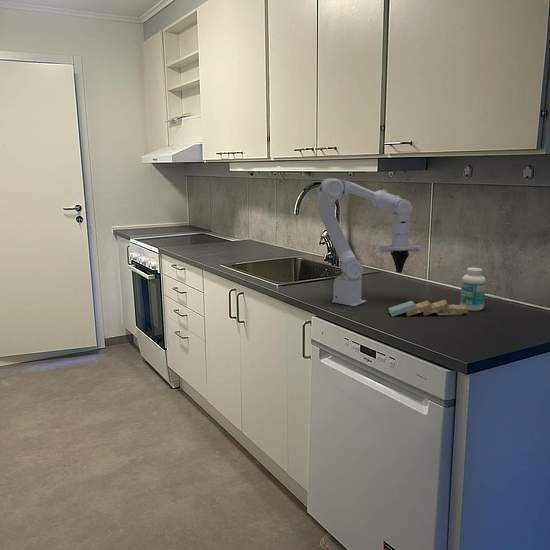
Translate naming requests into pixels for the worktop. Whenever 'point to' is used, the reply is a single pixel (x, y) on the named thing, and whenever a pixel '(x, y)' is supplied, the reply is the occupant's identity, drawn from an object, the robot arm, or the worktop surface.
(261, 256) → the worktop surface
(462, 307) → the domino
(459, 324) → the worktop surface
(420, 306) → the domino
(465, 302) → the pill bottle
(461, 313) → the domino
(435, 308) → the domino
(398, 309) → the domino
